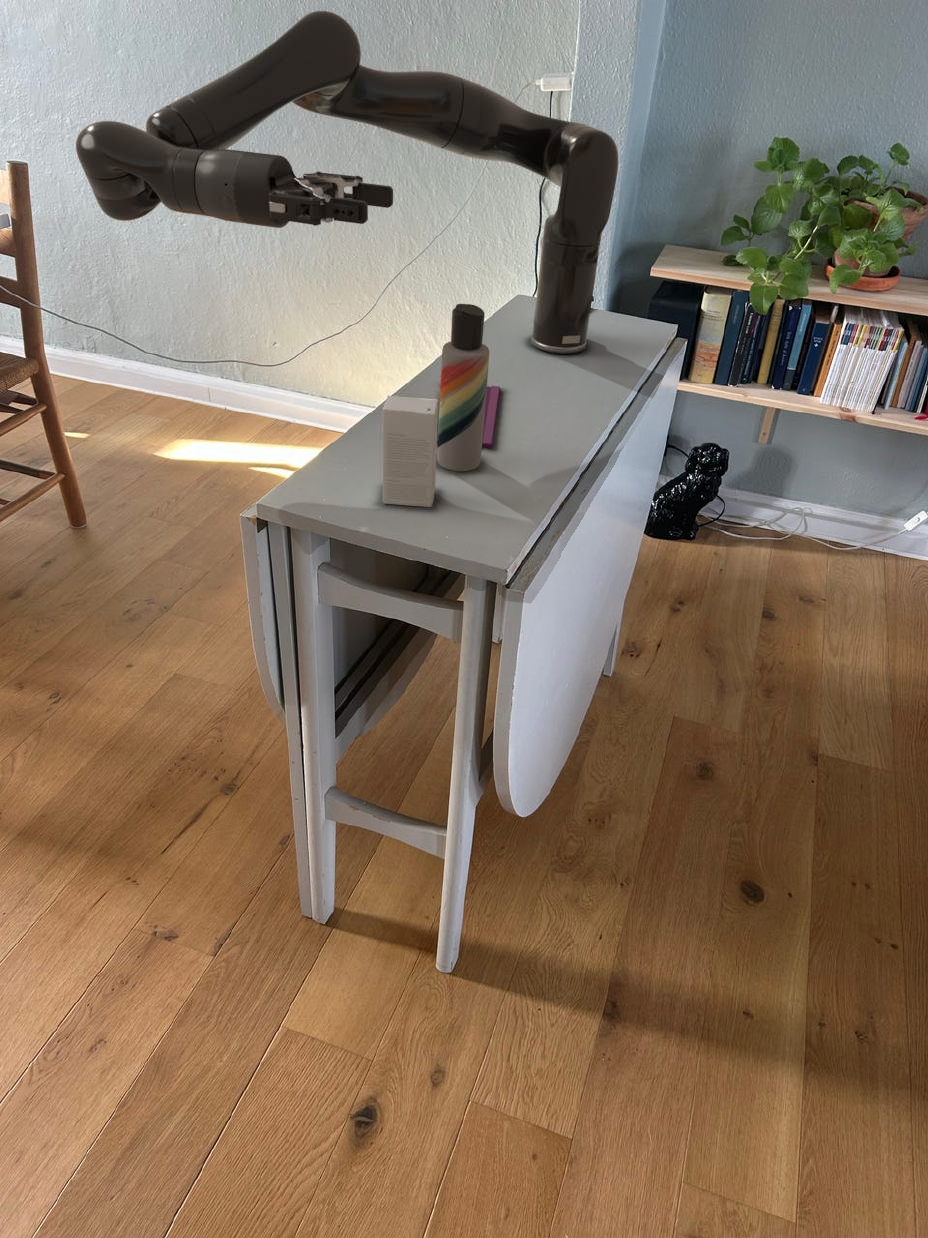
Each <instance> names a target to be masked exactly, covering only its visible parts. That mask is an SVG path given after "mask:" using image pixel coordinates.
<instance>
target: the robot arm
mask: <svg viewBox="0 0 928 1238" xmlns="http://www.w3.org/2000/svg"><path fill="white" fill-rule="evenodd" d="M361 56H362V50H361V44H360V41H359V37H358V35H357V33H356V32H355V30H354V28H353V26H351V25H350V23H349V22H348V21H347V20H346V19H344V18H343V17H342V16H341V15H339V14H336V13H334V12H332V11H329V10H328V11H327V10H316V11H311V12H309V13H307V14H305V15H303V17H301V18H300V19H298V21H297V22H296V23H295V24H294V25H292V26H291V27H290V28H289V29H288V30H287V31H286V32H284V33H283V34H282V35H281V36H280V37H278V38H277V39H276V40H275V41H274V42H273V43H271V44H270V45H268V46H267V47H266V48H264V49H263V50H261V51H260V52H259V53H257V54H256V55H253V56H252V57H251V58H249V60H246V61H245V62H243V63H242V64H240V65H239V66H237V67H236V68H234V69H232V70H230V71H229V72H226V73H225V74H224V75H222V76H220V77H218V78H216V79H214V80H213V81H210V82H209V83H207V84H205V85H203V86H201V87H200V88H198V89H195V90H194V91H192V92H190V93H188V94H186V95H183V96H182V97H180V98H178V99H177V100H175V101H172V102H171V103H170V104H167V105H166V106H163V107H162V108H159V109H158V110H156V111H154V112H153V113H152V114H150V115H149V116H148V118H147V120H146V124H145V130H142V129H140V128H138V127H136V126H134V125H131V124H128V123H124V122H119V121H116V120H115V121H114V120H101V121H96V122H93V123H90V124H88V125H87V126H85V127H83V128H82V130H81V131H80V132H79V133H78V135H77V137H76V141H75V151H76V155H77V158H78V161H79V164H80V165H81V167H82V170H83V172H84V174H85V177H86V179H87V181H88V184H89V186H90V189H91V190H92V194H93V195H94V197H95V200H96V202H97V204H98V206H99V208H100V209H101V211H102V212H103V213H104V214H105V215H106V216H107V217H109V218H111V219H113V220H116V221H119V222H120V221H122V222H130V221H135V220H138V219H141V218H143V217H145V216H147V215H148V214H150V213H151V212H152V211H154V210H155V209H156V208H157V207H158V206H159V205H160V204H162V205H163V206H164V207H166V208H167V209H169V210H170V211H173V212H177V213H181V214H188V215H195V216H202V217H210V218H215V219H218V220H221V221H225V222H229V223H239V224H244V225H245V224H247V225H253V226H261V227H266V228H267V227H269V228H276V229H281V228H284V227H286V226H287V225H288V224H289V223H290V222H291V223H299V224H305V225H313V226H314V227H315V226H316V227H317V226H319V225H321V224H322V222H324V223H327V224H329V223H332V222H334V221H335V222H344V223H350V224H351V223H352V224H359V225H363V224H365V223H367V222H368V220H369V207H377V208H386V209H388V208H391V207H392V206H393V204H394V189H393V187H392V186H390V185H384V184H377V183H368V182H367V183H366V182H364V178H363V176H360V175H348V174H339V173H338V174H337V173H328V172H322V171H316V172H313V173H303V174H302V177H297V175H296V174H295V173H294V169H293V167H292V164H291V163H290V161H289V160H288V159H287V158H286V157H285V156H283V155H280V154H271V153H263V152H254V151H247V150H237V149H229V148H231V147H232V146H234V145H236V143H238V142H239V141H240V140H242V139H243V138H244V137H245V136H246V135H248V134H249V133H250V132H251V131H253V130H254V129H255V128H256V127H258V126H259V125H260V124H261V123H263V122H264V121H265V120H267V119H268V118H269V117H270V116H272V115H274V113H276V112H277V111H279V110H280V109H282V108H283V107H285V106H287V105H288V104H290V103H293V104H294V105H295V106H297V107H299V108H301V109H303V110H306V111H308V112H310V113H314V114H318V115H324V116H327V117H333V118H338V119H344V120H348V121H351V122H357V123H361V124H366V125H371V126H374V127H377V128H380V129H383V130H386V131H389V132H392V133H395V134H397V135H401V136H404V137H407V138H411V139H413V140H417V141H420V142H423V143H426V144H428V145H431V146H433V147H436V148H438V149H442V150H445V151H448V152H451V153H454V154H456V155H459V156H464V157H468V158H472V159H476V160H484V161H493V162H504V163H509V164H513V165H515V166H518V167H521V168H523V169H526V170H528V171H530V172H532V173H534V174H536V175H538V176H541V177H542V178H544V179H546V180H548V181H549V182H551V183H552V184H554V185H556V186H558V187H560V191H559V197H558V202H557V207H556V210H555V212H554V213H553V214H550V215H549V216H547V217H546V219H545V220H544V224H543V233H542V242H541V251H540V264H539V270H538V271H539V272H538V280H537V288H536V290H537V291H536V297H535V298H536V299H535V307H534V308H535V309H534V315H533V318H534V319H533V327H532V334H531V338H530V343H531V345H533V346H534V347H535V348H536V349H539V350H541V351H544V352H548V353H552V354H564V355H566V354H567V355H568V354H576V353H577V354H578V353H580V352H582V351H584V350H585V349H586V347H587V343H588V342H587V341H588V340H587V336H588V330H589V324H590V316H591V309H592V304H593V302H594V301H595V296H594V289H595V284H596V283H595V282H596V277H597V268H598V261H599V255H600V247H601V240H602V235H603V232H604V230H605V228H606V226H607V224H608V222H609V219H610V215H611V211H612V205H613V199H614V195H615V191H616V183H617V178H618V170H619V151H618V146H617V144H616V141H615V140H614V139H613V138H612V136H611V135H609V134H608V133H607V132H605V131H603V130H601V129H598V128H596V127H593V126H591V125H588V124H584V123H580V122H575V121H569V120H564V119H559V118H555V117H550V116H547V115H543V114H539V113H535V112H532V111H529V110H527V109H524V108H523V107H521V106H520V105H518V104H516V103H515V102H513V101H512V100H510V99H508V98H507V97H505V96H503V95H501V94H500V93H498V92H496V91H494V90H492V89H490V88H488V87H486V86H484V85H481V84H479V83H476V82H474V81H471V80H468V79H466V78H463V77H462V76H461V77H460V76H458V75H455V74H452V73H448V72H442V71H433V70H416V71H415V70H414V71H386V70H385V71H384V70H379V69H374V68H371V67H367V66H365V65H362V64H361V59H362V57H361ZM346 187H351V192H352V193H348V192H345V188H346Z"/></svg>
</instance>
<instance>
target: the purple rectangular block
mask: <svg viewBox="0 0 928 1238" xmlns="http://www.w3.org/2000/svg"><path fill="white" fill-rule="evenodd" d="M501 389H502V388H501V387H500V385H499V386H498V385H491V386H487V391H486V403H485V415H484V427H483V439H482V448H485V449H493V448H494V441H495V434H496V428H497V427H496V426H497V420H498V419H497V418H498V412H499V404H500V397H501V396H500V395H501ZM438 424H439V419H438V421H437V444H438Z"/></svg>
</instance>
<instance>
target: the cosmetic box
mask: <svg viewBox="0 0 928 1238" xmlns="http://www.w3.org/2000/svg"><path fill="white" fill-rule="evenodd" d="M381 414H382V415H381V417H382V420H381V421H382V422H381V423H382V503H383V504H385V505H395V506H396V505H398V506H411V507H425V508H432V507H433V503H434V499H435V493H436V481H437V480H436V479H437V478H436V475H437V444H438V443H437V424H438V420H439V400H438V398H424V397H413V396H412V397H410V396H397V395H387V397H386V399H385V402H384V405H383V407H382V410H381Z"/></svg>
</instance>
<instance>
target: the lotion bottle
mask: <svg viewBox="0 0 928 1238" xmlns="http://www.w3.org/2000/svg"><path fill="white" fill-rule="evenodd" d="M484 327H485V311H484V309H482V308H481V307H479V306H478V305H475V304H472V303H471V304H470V303H457V304H455V307H454V308H453V309H452V312H451V327H450V329H451V330H450V331H451V332H450V341H448V342H446V343H444V344H443V346H442V348H441V365H440V366H441V367H440V385H439V386H440V388H439V402H438V420H439V424H438V423H437V424H438V443H437V451H436V462H437V463H438V465H439V466H441V467H442V468H444V469H445V470H447V471H453V472H470V471H473V470H475V469H477V468H478V467H479V466H480V465H481V459H482V448H483V447H482V439H483V427H484V415H485V403H486V391H487V387H488V377H489V365H490V349H489V347H488V346H487V345H486V344H484V343H483V339H484V338H483V337H484Z"/></svg>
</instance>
